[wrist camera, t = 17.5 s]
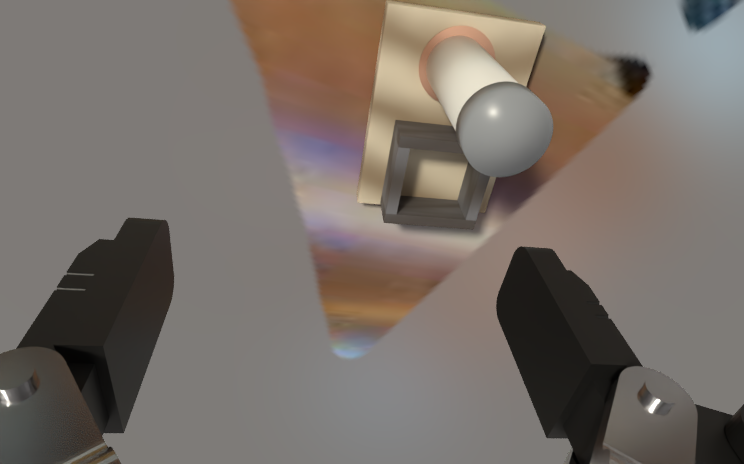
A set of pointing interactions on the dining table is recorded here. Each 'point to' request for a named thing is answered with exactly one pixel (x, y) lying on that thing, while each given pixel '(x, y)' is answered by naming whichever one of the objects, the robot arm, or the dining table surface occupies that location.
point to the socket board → (430, 116)
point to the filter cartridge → (488, 108)
